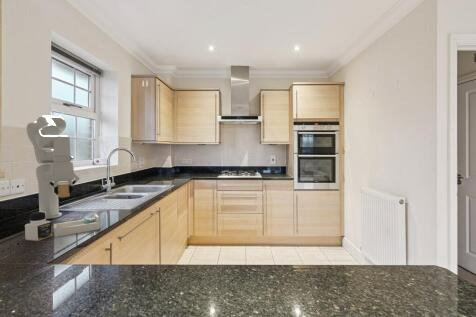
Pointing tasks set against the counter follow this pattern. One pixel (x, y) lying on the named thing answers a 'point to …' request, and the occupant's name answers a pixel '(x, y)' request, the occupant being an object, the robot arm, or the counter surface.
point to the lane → (76, 226)
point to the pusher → (88, 220)
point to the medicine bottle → (38, 227)
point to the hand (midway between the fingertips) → (63, 193)
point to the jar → (63, 189)
